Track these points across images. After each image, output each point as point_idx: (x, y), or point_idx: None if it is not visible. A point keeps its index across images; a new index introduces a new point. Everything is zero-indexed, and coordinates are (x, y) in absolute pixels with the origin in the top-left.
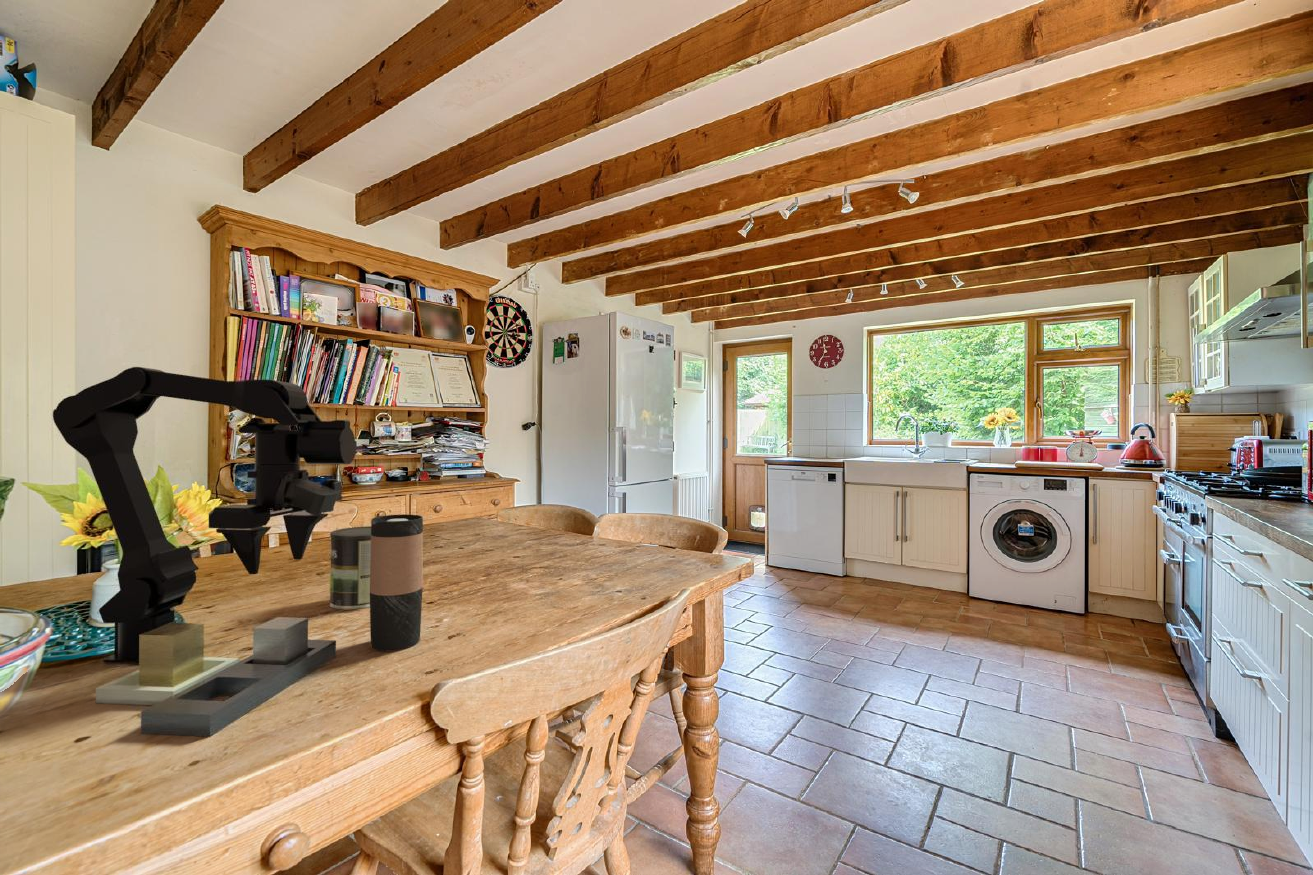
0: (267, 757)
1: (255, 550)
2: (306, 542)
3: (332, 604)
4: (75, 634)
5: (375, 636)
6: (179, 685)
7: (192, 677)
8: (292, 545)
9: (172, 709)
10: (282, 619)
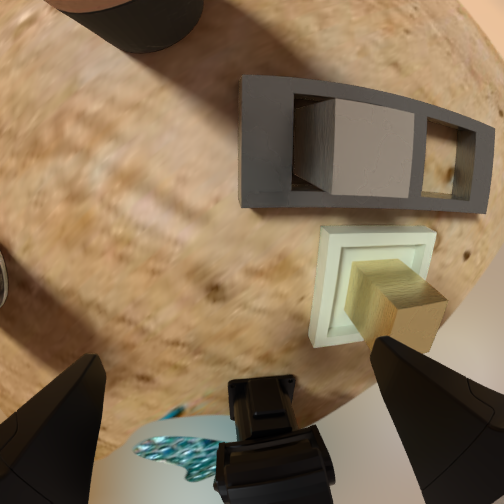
0: (490, 53)
1: (475, 384)
2: (43, 400)
3: (4, 294)
4: (210, 471)
5: (198, 10)
6: (422, 241)
7: (373, 262)
8: (92, 433)
9: (486, 181)
10: (350, 166)
